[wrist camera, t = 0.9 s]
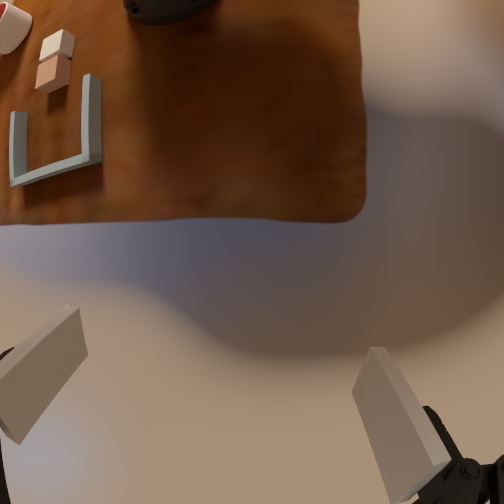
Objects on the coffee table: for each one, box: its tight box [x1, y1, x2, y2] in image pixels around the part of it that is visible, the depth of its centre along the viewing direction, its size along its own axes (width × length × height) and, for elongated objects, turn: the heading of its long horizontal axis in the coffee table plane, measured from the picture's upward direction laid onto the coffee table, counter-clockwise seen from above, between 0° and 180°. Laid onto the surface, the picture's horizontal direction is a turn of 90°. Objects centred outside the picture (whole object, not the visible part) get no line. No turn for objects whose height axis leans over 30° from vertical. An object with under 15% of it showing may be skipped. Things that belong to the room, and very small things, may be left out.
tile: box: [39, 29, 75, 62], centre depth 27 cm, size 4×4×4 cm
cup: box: [0, 2, 32, 54], centre depth 21 cm, size 10×10×10 cm
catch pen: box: [9, 73, 102, 187], centre depth 31 cm, size 13×18×4 cm
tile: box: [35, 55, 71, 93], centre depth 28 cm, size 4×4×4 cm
